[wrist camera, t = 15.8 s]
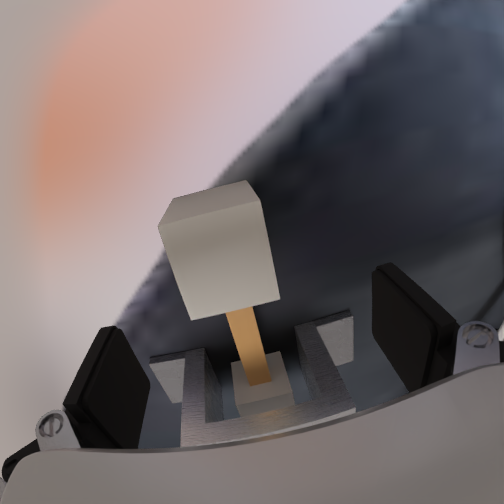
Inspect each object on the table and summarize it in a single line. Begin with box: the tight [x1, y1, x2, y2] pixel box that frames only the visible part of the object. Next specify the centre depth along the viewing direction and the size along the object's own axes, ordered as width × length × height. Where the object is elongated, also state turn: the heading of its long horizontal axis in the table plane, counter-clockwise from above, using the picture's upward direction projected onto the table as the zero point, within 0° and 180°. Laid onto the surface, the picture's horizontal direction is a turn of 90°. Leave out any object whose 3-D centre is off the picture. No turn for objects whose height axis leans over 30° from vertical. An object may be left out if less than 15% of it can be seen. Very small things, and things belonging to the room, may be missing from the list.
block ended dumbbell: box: [158, 180, 295, 417], centre depth 18 cm, size 4×16×6 cm, turn 12°
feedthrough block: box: [149, 310, 356, 447], centre depth 19 cm, size 16×5×9 cm, turn 102°
